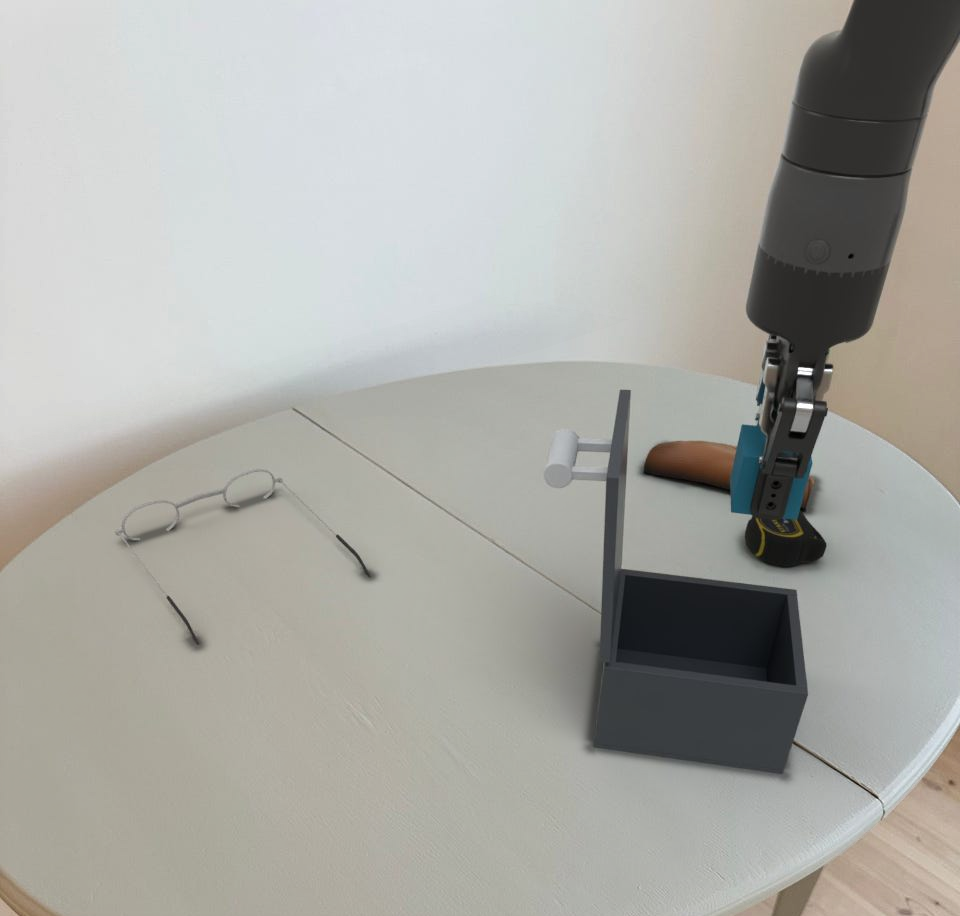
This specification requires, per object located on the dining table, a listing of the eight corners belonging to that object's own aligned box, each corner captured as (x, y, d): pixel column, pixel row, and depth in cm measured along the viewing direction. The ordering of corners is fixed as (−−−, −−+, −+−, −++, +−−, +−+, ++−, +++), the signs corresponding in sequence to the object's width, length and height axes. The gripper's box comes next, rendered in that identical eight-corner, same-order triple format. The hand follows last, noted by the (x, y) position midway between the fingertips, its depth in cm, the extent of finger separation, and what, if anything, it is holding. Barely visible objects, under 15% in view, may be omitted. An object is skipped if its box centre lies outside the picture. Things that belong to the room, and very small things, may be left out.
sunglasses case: (819, 475, 110) (826, 443, 104) (801, 530, 108) (808, 500, 102) (662, 440, 115) (661, 408, 109) (643, 492, 113) (641, 461, 107)
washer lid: (630, 389, 72) (558, 387, 73) (618, 477, 62) (535, 473, 63) (621, 563, 81) (557, 559, 82) (610, 662, 72) (538, 657, 73)
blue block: (792, 486, 70) (807, 430, 67) (797, 520, 66) (812, 462, 64) (729, 479, 70) (741, 423, 67) (730, 512, 67) (743, 455, 64)
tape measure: (823, 570, 97) (832, 538, 95) (757, 576, 96) (766, 544, 94) (793, 531, 102) (802, 500, 100) (731, 536, 101) (738, 505, 99)
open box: (773, 670, 86) (796, 589, 80) (781, 777, 76) (808, 694, 71) (605, 648, 87) (616, 567, 82) (592, 750, 78) (604, 667, 72)
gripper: (911, 294, 51) (829, 562, 62) (876, 211, 62) (811, 452, 73) (764, 282, 52) (708, 548, 63) (755, 201, 63) (709, 441, 74)
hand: (764, 495), depth 68 cm, fingers closed on blue block, 4 cm apart
